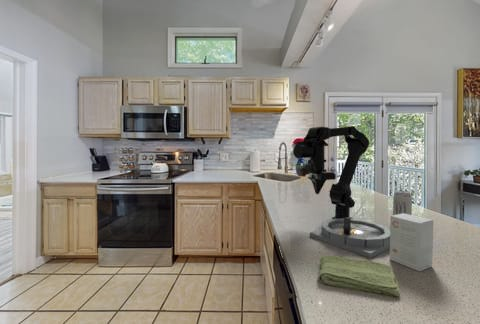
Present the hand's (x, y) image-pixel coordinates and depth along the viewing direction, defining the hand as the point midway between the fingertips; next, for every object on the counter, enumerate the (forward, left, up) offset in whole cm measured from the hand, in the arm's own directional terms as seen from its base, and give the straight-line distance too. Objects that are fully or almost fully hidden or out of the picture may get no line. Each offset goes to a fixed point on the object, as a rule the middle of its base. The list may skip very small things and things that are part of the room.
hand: (317, 194), depth 103 cm
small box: (+8, +38, -13) cm, 41 cm away
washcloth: (+27, +32, -14) cm, 45 cm away
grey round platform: (+3, +19, -13) cm, 23 cm away
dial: (+3, +19, -11) cm, 22 cm away
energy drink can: (-20, +25, -13) cm, 34 cm away
